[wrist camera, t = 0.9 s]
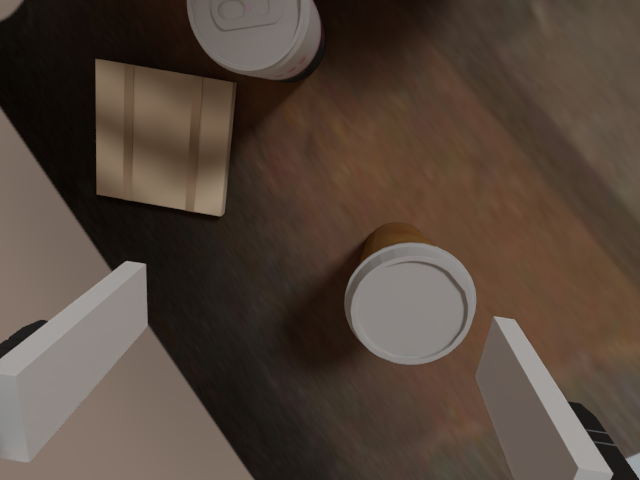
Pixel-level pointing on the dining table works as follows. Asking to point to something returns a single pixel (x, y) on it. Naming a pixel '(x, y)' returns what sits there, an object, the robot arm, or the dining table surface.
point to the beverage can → (260, 36)
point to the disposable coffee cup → (408, 297)
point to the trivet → (163, 137)
